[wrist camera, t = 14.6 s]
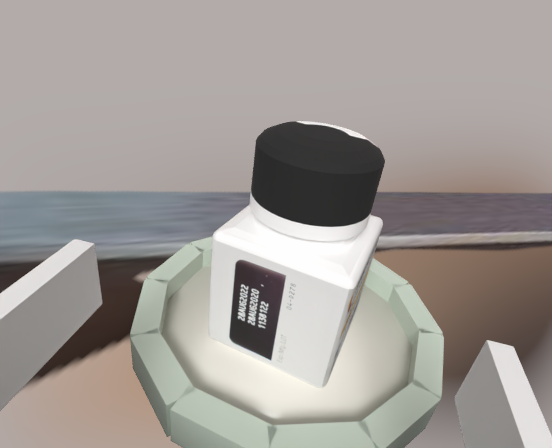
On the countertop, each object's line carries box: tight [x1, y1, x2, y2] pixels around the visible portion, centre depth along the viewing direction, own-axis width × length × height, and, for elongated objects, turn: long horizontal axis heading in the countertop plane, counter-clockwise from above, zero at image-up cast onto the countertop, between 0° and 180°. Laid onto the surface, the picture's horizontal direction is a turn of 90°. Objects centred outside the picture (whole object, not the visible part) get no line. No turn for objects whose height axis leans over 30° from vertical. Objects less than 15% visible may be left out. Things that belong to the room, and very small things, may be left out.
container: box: [208, 121, 385, 388], centre depth 22 cm, size 8×8×13 cm
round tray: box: [130, 237, 444, 448], centre depth 25 cm, size 19×19×2 cm
